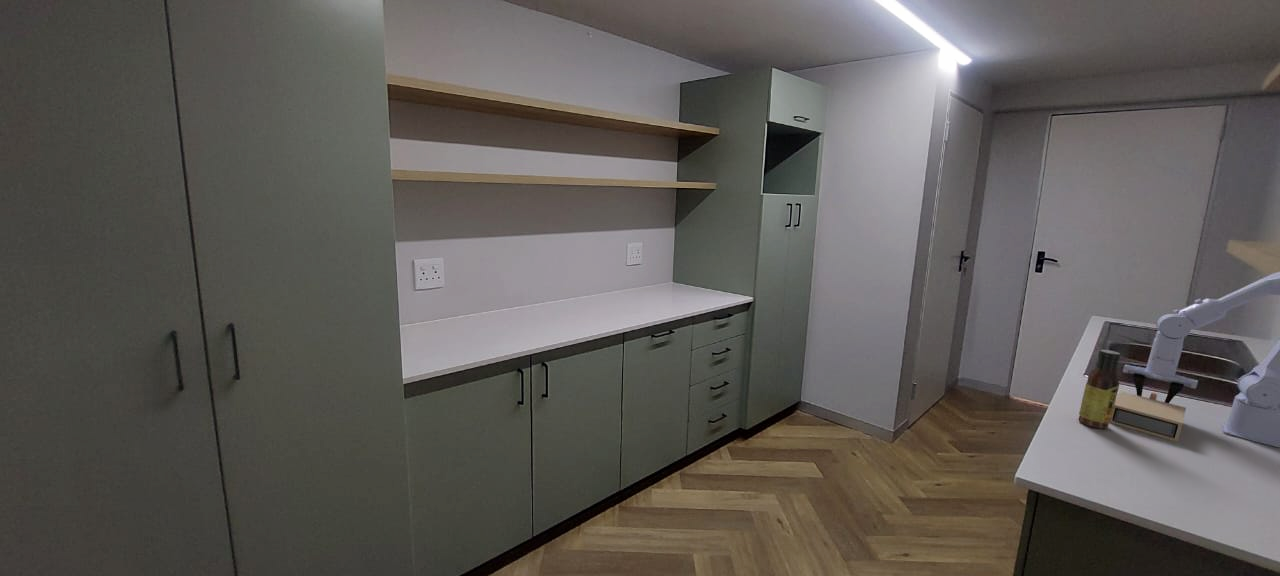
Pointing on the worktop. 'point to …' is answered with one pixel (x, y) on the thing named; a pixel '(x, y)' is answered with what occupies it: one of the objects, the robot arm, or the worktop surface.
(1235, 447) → the worktop surface
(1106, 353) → the sauce bottle
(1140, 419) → the tray
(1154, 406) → the sleeve
